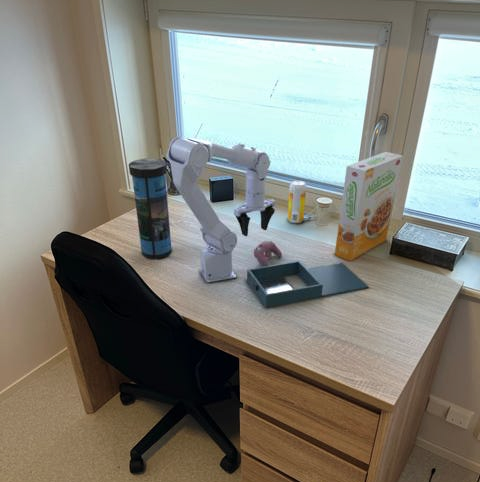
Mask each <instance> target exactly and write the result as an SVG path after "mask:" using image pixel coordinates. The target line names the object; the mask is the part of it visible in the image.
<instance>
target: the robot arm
mask: <svg viewBox="0 0 480 482" xmlns="http://www.w3.org/2000/svg"><path fill="white" fill-rule="evenodd" d="M166 158H167V160H168V162H169V164H170V169H171V176H172V182H173V184H174V187H175V188H176V190H177V192H178V193H179V194H180V196H181V197H182V199H183V200H184V202H185V203H186V205H187V207H188V209H190V211H191V212H192V214H193V215H194V217H195V218H196V220H197V221H198V223H199V224H200V225H201V227H200V228H199V230H200V232H201V234H202V239H203V242H205V243H206V247H207V248H205V249H203V250H201V251H200V255H199V256H200V257H199V259H200V273H201V275H202V277H203V278H204V279H205V282H206V283H213V282H219V281H224V280H230V279H236V278H237V274H236V273H235V272H234V270H233V251H234V249H235V248H236V246H237V245H238V236H237V234H236V233H235V232H233V231H231V230H230V228H229V227H228V226H227V225H226V224H225V223H224V222H222V221H221V220H220V218H219V217H218V215H217V213H216V212H215V210H214V208H213V206H212V205H211V203H210V202H209V200H208V199H207V197H206V195H205V194H204V193H203V190H202V188H201V187H200V185H199V184H198V181H199V180H200V179H201V176H202V174H203V172H204V170H205V169H206V166H207V163H211V161H212V158H216V159H221V160H227V164H229V165H230V166H232V167H237V168H241V169H246V174H245V182H246V183H245V203H244V204H242V205H240V206H238V207H236V208H233V215H234V217H235V218H236V221H237V223H238V224H239V228H240V232H241V235H242V236H244V237H248V235H249V225H250V221H251V217H250V216H249V215H248V214H249V213H253V212H257V211H258V212H259V213H260V228H261V230H263V231H267V230H268V227H269V224H270V221H271V219H272V217H273V215H274V214H275V212H276V209H275V207H276V200H274V199H273V198H270V199H266V177H267V176H268V171H269V168H270V166H271V162H272V161H271V160H270V157H269V155H268V153H267V152H265V151H261V150H258V149H257V148H256V147H253V146H250V147H248V146H247V147H246V145H245V144H244V143H241V142H238V143H237V144H232V145H231V146H230V147H227V146H224V145H220V144H217V143H214V142H212V141H207V140H204V139H199V138H193V137H186V138H185V137H182V136H176V137H174V138H173V139H172V140H171V141H170V143H169V146H168V148H167V153H166Z"/></svg>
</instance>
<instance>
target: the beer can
mask: <svg viewBox="0 0 480 482" xmlns="http://www.w3.org/2000/svg"><path fill="white" fill-rule="evenodd" d="M306 195H307V184H306V182H305V181H303V180H293V181H291V182H290V185H289V193H288V206H287V207H288V208H287V220H288V222H290V223H291V224H301V223H302V222H303V221H304V217H305V208H306Z"/></svg>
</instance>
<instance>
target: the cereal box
mask: <svg viewBox="0 0 480 482" xmlns="http://www.w3.org/2000/svg"><path fill="white" fill-rule="evenodd" d="M403 158H404V155H402V154H397V153H393V152H389V151H384V152H380V153H378V154H376V155H373V156H371V157H367V158H365V159H362V160H359V161H356V162H353V163H351V164H349V165H346V168H345V177H344V182H343V183H344V184H343V189H342V190H343V191H342V196H341V197H342V198H341V205H340V206H341V207H340V211H339V218H338V228H337V234H336V242H335V248H334V249H335V250H334V256H337V257H339V258H342V259H345V260H347V261H349V262H351V261H353V260H354V259H356V258H358V257H360V256H361V255H363V254H365V253H367V252H368V251H369V250H372V249H373V248H375V247H377V246H378V245H381V244H382V243H383V242H385V241H387V237H388V232H389V227H390V222H391V217H392V212H393V207H394V202H395V197H396V193H397V188H398V183H399V178H400V172H401V169H402V164H403V163H402V162H403Z"/></svg>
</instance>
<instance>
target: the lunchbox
mask: <svg viewBox="0 0 480 482" xmlns="http://www.w3.org/2000/svg"><path fill="white" fill-rule="evenodd" d="M296 274H297V275H298V276H299V277H300V278H301V279H302V281H304V282H305V283H306V285H307V286H303V287H297V288H292V289H291V290H286V291H281V292H275V293H270V294H267V292H266V291H265V290H264V288H263V287H262V286H261V284H260V283H259V281H264V280H270V279H276V278H281V277H286V276H291V275H296ZM246 282H247V284H249V286H250V288H251V289H252V291H253V292H254V294H255V295H256V296H257V298H258V299H259V300H260V302H261V303H262V305H263V306H264V307H265V309H268V308H274V307H278V306H284V305H289V304H293V303H294V304H295V303H298V302H304V301H309V300H313V299H314V300H315V299H318V298H324V297H330V296H335V295H341V294H344V293H350V292H354V291H360V290H364V289H368V288H369V285H367V283H365V282H364V281H363V280H362V279H361V278H360V277H358V276H357V274H355V273H354V272H353V271H351V269H350V268H348V267H347V266H346V264H344V263H342V262H340V263H335V264H331V265H324V266H318V267H312V268H307V267H306V266H305V265H304V264H303V262H302V261H301V260H294V261H289V262H282V263H277V264H272V265H268V266H259V267H253V268H247V269H246Z"/></svg>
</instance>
